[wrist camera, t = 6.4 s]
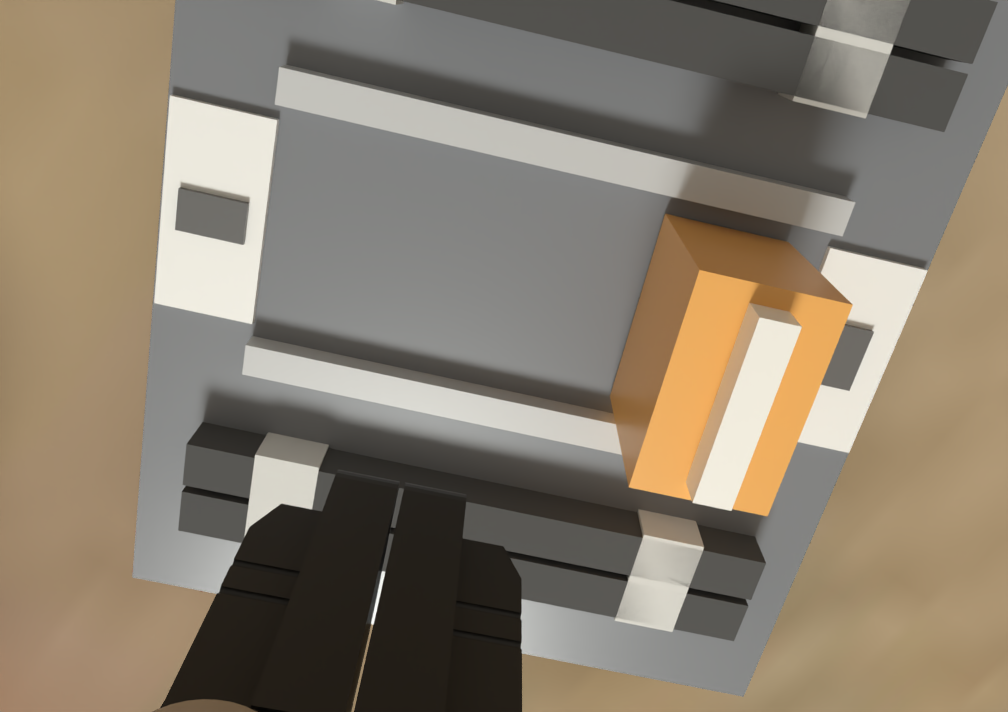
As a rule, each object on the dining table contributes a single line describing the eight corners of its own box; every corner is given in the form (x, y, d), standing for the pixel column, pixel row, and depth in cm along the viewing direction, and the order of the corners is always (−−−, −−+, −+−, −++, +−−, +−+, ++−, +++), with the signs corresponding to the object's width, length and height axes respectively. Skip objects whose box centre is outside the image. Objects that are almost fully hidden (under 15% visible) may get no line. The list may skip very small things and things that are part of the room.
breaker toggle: (665, 213, 20) (707, 283, 16) (788, 241, 21) (868, 319, 16) (609, 396, 22) (633, 508, 18) (724, 420, 22) (777, 538, 18)
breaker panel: (242, -324, 19) (191, -379, 16) (1033, -115, 20) (1117, -132, 17) (165, 527, 27) (123, 590, 24) (725, 638, 28) (748, 712, 26)
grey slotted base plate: (295, -164, 20) (248, -194, 17) (922, -5, 21) (1000, -3, 18) (223, 462, 26) (177, 534, 23) (706, 561, 27) (732, 644, 24)
